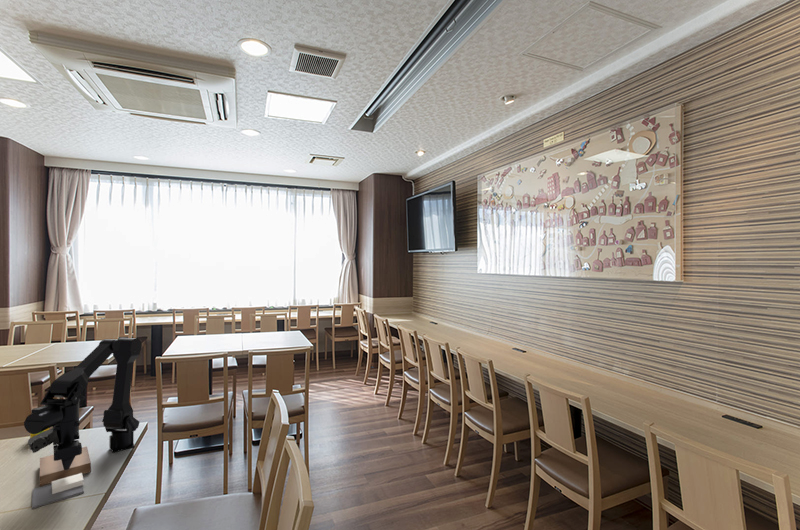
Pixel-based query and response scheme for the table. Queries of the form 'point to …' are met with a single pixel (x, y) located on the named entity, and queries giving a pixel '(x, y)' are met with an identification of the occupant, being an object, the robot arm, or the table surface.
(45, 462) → the serving board
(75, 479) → the white rectangular block
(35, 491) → the mat
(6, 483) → the table surface
